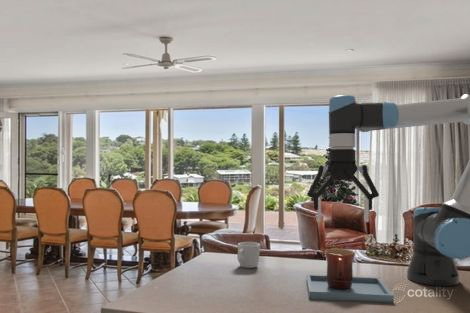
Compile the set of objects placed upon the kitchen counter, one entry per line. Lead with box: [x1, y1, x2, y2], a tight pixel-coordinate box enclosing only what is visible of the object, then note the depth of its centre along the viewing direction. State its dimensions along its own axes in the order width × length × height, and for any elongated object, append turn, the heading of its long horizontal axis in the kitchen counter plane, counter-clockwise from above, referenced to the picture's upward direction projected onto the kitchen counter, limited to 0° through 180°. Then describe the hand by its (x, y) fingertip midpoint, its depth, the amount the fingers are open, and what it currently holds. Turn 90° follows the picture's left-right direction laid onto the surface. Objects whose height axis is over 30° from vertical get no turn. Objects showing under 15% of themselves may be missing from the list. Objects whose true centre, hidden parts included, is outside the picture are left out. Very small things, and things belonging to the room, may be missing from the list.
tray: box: [306, 274, 395, 304], centre depth 127 cm, size 22×18×2 cm
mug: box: [324, 248, 356, 290], centre depth 128 cm, size 12×9×10 cm
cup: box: [236, 241, 261, 269], centre depth 154 cm, size 11×8×8 cm
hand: (342, 221), depth 129 cm, fingers open, 13 cm apart
